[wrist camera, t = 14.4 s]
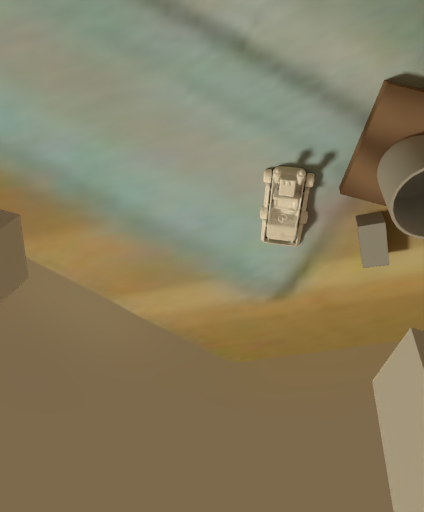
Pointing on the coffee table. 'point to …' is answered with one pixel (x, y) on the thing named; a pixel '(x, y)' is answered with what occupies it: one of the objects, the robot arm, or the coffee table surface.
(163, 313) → the coffee table surface
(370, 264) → the grey brick
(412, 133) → the walnut block
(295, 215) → the toy car
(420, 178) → the cup
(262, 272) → the coffee table surface
